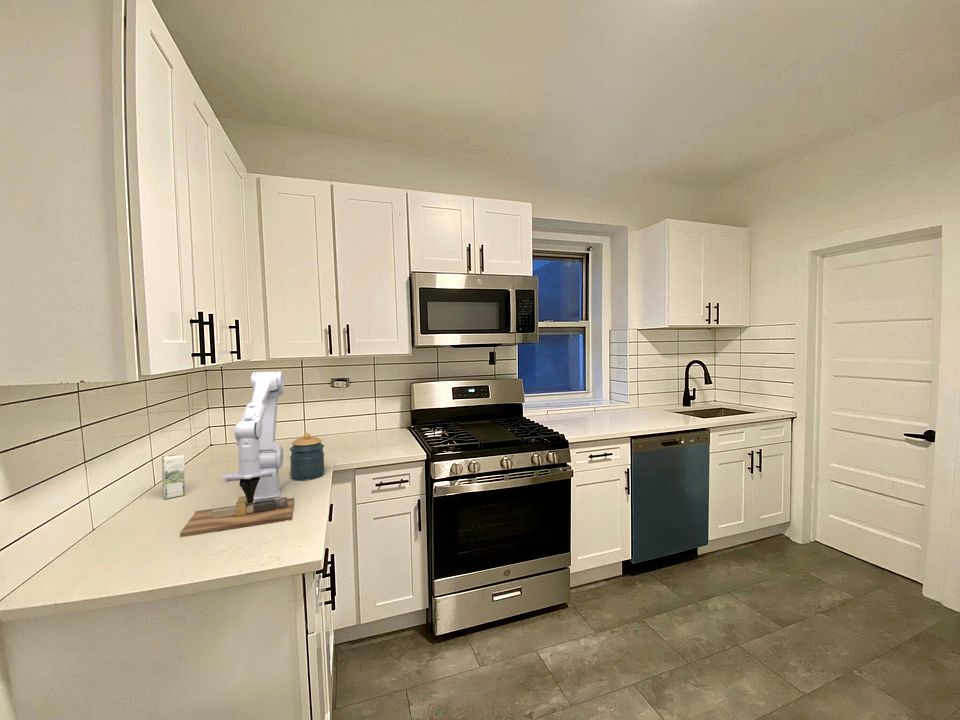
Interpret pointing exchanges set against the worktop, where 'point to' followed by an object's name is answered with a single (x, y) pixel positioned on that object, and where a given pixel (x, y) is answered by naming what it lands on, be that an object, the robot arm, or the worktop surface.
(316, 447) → the canister
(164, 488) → the syrup box
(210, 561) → the worktop surface
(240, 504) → the wooden u-shaped block
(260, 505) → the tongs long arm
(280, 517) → the tong board
